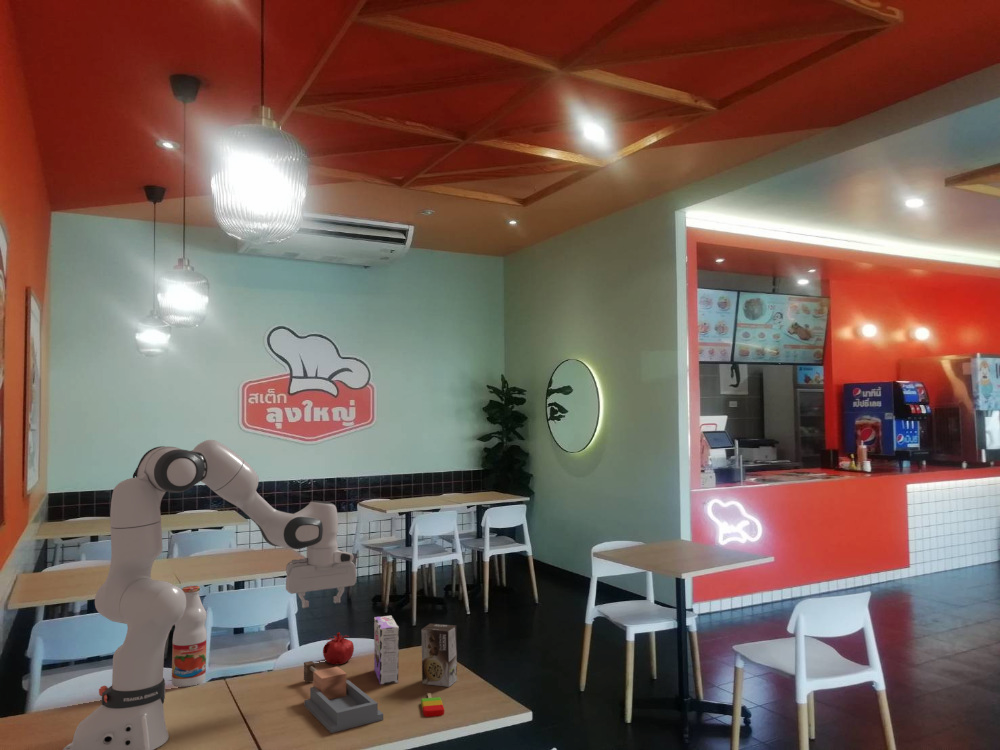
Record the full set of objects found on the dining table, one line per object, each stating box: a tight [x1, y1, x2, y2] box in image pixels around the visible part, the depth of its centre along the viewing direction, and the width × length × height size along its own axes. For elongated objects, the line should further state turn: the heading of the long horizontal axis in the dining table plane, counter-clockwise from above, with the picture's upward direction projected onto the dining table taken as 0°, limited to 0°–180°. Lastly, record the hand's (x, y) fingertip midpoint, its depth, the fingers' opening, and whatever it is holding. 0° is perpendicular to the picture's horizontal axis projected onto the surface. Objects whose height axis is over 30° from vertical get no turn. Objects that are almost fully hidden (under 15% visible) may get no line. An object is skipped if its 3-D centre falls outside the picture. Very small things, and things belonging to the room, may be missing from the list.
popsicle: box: [420, 692, 445, 718], centre depth 189 cm, size 6×15×2 cm, turn 11°
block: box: [303, 660, 347, 700], centre depth 199 cm, size 7×23×7 cm, turn 34°
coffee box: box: [420, 623, 458, 688], centre depth 207 cm, size 9×6×16 cm
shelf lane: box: [303, 679, 384, 734], centre depth 184 cm, size 14×21×4 cm, turn 34°
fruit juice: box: [171, 585, 208, 688], centre depth 210 cm, size 9×9×28 cm
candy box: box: [373, 615, 400, 685], centre depth 212 cm, size 14×6×16 cm, turn 17°
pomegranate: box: [322, 632, 355, 665], centre depth 226 cm, size 10×10×9 cm
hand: (321, 605), depth 201 cm, fingers open, 8 cm apart
